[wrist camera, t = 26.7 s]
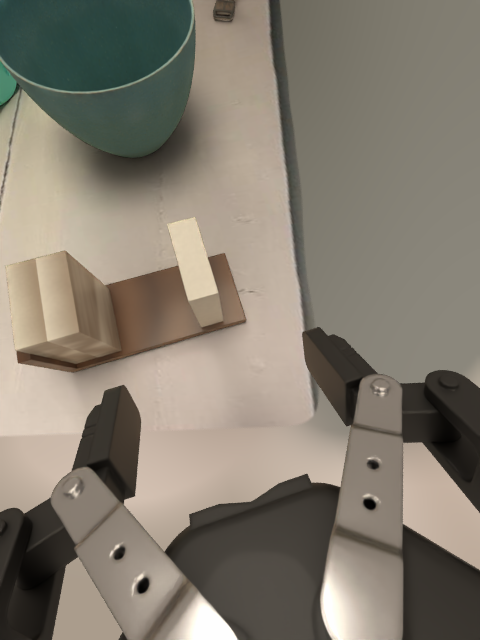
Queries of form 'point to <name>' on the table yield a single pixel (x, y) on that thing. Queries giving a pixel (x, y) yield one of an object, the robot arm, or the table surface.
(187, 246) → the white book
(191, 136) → the table surface
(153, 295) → the brown wooden book rack
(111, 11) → the teal bowl
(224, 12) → the strap clip
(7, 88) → the decorative dice
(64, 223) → the table surface
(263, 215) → the table surface
